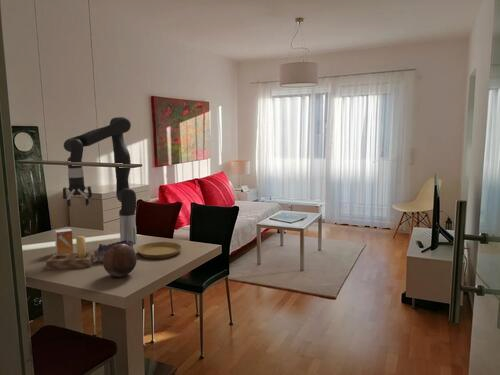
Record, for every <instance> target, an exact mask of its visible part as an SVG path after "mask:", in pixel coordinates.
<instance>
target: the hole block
mask: <svg viewBox="0 0 500 375" xmlns="http://www.w3.org/2000/svg"><path fill="white" fill-rule="evenodd" d="M95 254H96V253H95V252H94V251H93V252H86V258H77V252H73V253H69V254H57V253H53V255H51V256H50V257H49V258H48V259H47V260H46V261H45V264H46V265H45V266H46V270H62V269H80V268H81V269H82V268H90V267H91V266H92V264H93V263H94V261H95V259H96V258H95Z"/></svg>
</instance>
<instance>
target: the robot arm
mask: <svg viewBox="0 0 500 375" xmlns="http://www.w3.org/2000/svg"><path fill="white" fill-rule="evenodd" d="M131 126H132V124H131V121H130V119H129V118H127V117H124V116H122V117H121V116H118V117H113V118H111V120H110V122H109V125H105V126H102V127H100V128H96V129H91V130H89V131H86V132H85V133H82V134H80V135H77V136H73V137H70V138H68V139H66V140H65V141H64V142H63V148H64V150H65V151H66V152H69V153H70V156H69V157H68V158H67V162H68V161H71V162H82V163H83V154H84V147H90V146H93V145H95V144H97V143H98V142H101V141H103V140H105V139H108V138H110V137H111V142H112V151H113V160H114V161H113V162H114V164H115V163H123V164H131V165H132V162H131V155H130V151H129V150H128V148H127V146H126V143H125V139H124V134H125V133H128V132H129V131H130V130H131ZM114 170H115V181H116V184H115V185H116V186H115V187H116V190H115V191H116V194H115V195H116V199H117V200H118V201H119V202H120V203H121V204H120V205H121V206H120V207H121V209H119V212H118V216H119V218H118V219H119V234H120V236H119V238H120V240H119V242H120V241H125V240H126V241H127V242H128V241H133V243H134V244H136V243H137V240H138V236H137V225H136V224H137V223H136V210H137V194H136V192H135V190H134V189H132V188H130V186H129V185H130V184H129V175H130V172H131V168H119V167H115V166H114ZM84 176H85V175H84V169H83V165H82V166H72V165H68V164H67V177H68V185H69V186H68V187H63V188H62V199H63V200H67V202H66V204H67V207H69V208H70V207H72V197H73V196H83V198H84V199H85V200H84V201H85V206H86V207H87V206H89V204H90V199H91V198H92V197H93V193H92V186H85V179H84ZM68 191H69V192H70V193H69V194H68V193H67V192H68ZM85 191H87V192H88V194H87V192H85Z"/></svg>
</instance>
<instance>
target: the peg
mask: <svg viewBox="0 0 500 375" xmlns="http://www.w3.org/2000/svg"><path fill="white" fill-rule="evenodd" d="M75 239H76V242H75V243H76V253H77V258H86V253H87V250H86V238H85V236H84V235H79V236H76V237H75Z"/></svg>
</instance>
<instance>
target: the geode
mask: <svg viewBox="0 0 500 375" xmlns="http://www.w3.org/2000/svg"><path fill="white" fill-rule="evenodd" d="M116 244H125V245H128V246H130V247H131V248H132V249H133V250H134V251H135V249H134V244H135V243H133V241H128V242H127V241H126V240H125V241H120V240H119V241H116V242H112V243H110V244H108V245H107V244H102V243H99V244H98V245H99V246H98V247H97V251H96V253H95V254H96V259H97V260H96V261H97V263H101V264H102V263H103V256H104V254H105V252H106V251H107V249H109V248H110V247H111V246H113V245H116Z"/></svg>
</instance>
